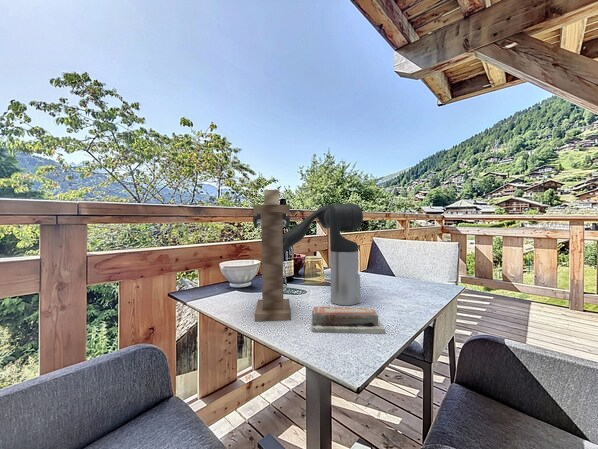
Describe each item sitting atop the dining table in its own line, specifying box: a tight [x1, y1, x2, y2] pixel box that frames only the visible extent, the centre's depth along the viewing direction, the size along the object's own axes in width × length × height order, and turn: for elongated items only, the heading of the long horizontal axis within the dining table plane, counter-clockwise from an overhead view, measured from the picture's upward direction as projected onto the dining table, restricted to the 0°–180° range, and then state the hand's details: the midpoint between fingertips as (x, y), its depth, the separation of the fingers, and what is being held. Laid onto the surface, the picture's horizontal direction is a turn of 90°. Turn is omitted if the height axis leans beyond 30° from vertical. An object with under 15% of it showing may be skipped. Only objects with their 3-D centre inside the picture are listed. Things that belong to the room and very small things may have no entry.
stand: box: [252, 204, 292, 322], centre depth 80 cm, size 10×14×32 cm
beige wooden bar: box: [263, 189, 280, 205], centre depth 84 cm, size 4×24×4 cm, turn 5°
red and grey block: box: [311, 306, 386, 335], centre depth 69 cm, size 18×5×10 cm
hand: (271, 211), depth 97 cm, fingers open, 8 cm apart
